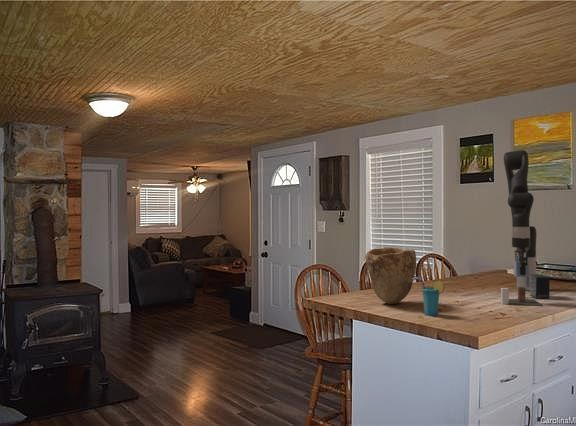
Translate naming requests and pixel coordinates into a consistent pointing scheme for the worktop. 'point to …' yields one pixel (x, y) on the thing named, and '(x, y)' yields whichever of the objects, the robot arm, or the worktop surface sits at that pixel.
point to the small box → (539, 286)
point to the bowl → (391, 272)
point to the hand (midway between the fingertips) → (521, 274)
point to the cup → (431, 297)
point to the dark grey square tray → (523, 299)
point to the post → (504, 296)
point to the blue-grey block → (517, 269)
